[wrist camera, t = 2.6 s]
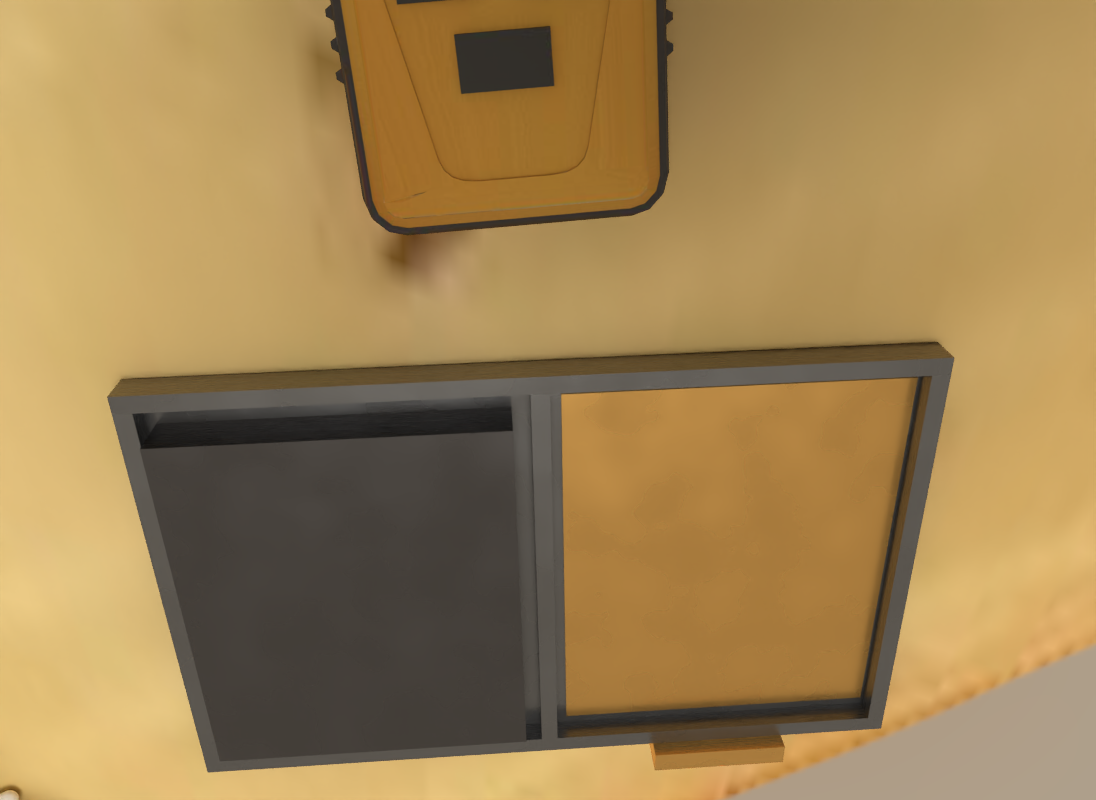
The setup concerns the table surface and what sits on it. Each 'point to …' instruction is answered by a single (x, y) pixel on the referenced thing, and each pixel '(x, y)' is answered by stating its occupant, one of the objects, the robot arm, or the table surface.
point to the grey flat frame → (536, 550)
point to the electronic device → (505, 109)
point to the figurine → (9, 795)
